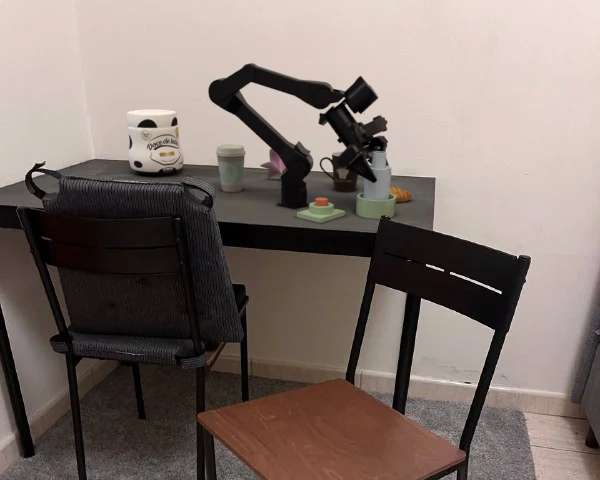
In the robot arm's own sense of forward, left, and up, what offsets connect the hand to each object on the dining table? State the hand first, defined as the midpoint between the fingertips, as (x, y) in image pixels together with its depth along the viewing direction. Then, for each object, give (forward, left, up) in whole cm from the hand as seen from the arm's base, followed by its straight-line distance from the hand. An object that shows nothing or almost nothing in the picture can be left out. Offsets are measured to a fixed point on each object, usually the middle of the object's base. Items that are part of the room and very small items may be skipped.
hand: (383, 178), depth 156 cm
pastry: (-6, +15, -9) cm, 19 cm away
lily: (-45, +11, -9) cm, 48 cm away
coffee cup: (-47, -8, -9) cm, 49 cm away
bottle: (-1, 0, -8) cm, 9 cm away
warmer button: (-10, -12, -6) cm, 17 cm away
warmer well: (-1, 0, -9) cm, 9 cm away
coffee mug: (-25, +16, -9) cm, 31 cm away
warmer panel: (-10, -12, -9) cm, 18 cm away
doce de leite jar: (-82, -8, -9) cm, 83 cm away
